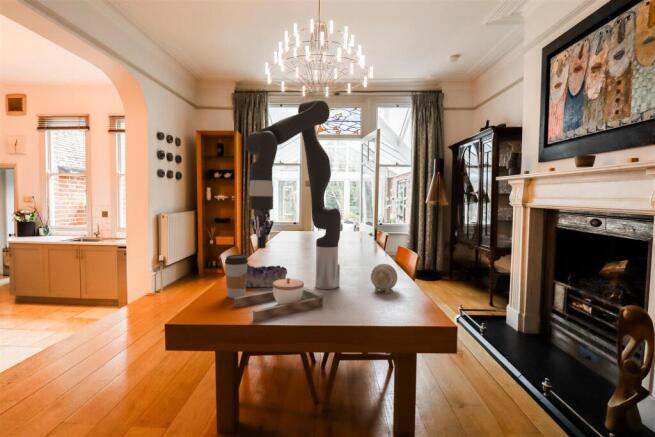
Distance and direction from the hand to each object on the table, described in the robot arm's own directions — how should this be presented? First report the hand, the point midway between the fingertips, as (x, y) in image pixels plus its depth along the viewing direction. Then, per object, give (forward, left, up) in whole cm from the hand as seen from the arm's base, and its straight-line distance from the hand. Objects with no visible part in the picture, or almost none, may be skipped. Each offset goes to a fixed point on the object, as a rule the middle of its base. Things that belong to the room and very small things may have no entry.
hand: (261, 248), depth 108 cm
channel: (-7, 0, -21) cm, 22 cm away
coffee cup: (+1, -19, -21) cm, 28 cm away
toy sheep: (-51, +7, -21) cm, 56 cm away
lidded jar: (-10, 0, -21) cm, 23 cm away
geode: (-14, -27, -21) cm, 37 cm away
